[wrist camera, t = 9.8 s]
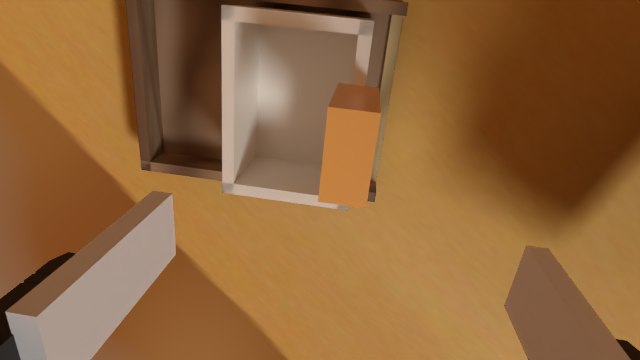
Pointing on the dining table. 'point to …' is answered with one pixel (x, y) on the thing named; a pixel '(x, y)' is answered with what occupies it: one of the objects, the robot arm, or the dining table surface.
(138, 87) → the bay
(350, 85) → the box
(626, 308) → the dining table surface
